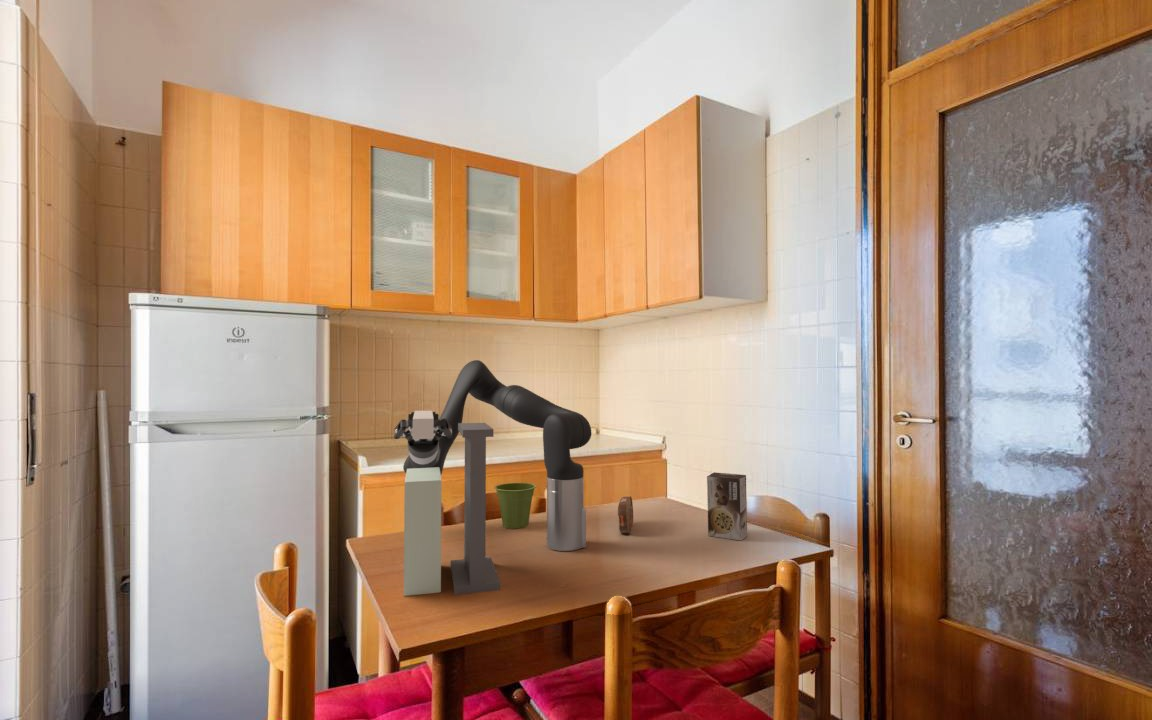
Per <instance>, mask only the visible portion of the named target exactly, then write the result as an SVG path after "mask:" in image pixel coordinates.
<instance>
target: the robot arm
mask: <svg viewBox="0 0 1152 720" xmlns="http://www.w3.org/2000/svg"><path fill="white" fill-rule="evenodd" d="M456 377H457V378H456V380H455V383H454V385H453V387H452V388H451V389H452V390H451V392H450V394H449V395H448V396H449V397H448V399H447V401H446V404H445V406H444V407H443V408H444V409H443V410H442V413H441V414H440V416H439V413H436V411H432V413H433V418H434V426H433V439H413V416H414V413H415V411H411V413H409V414H408V415H407V416H408V417H407V419H400V421H398V423H397V425H396V426H395V427H394V430H393V431H394V434H393V439H395V440H399V439H400V438H402V437H403V438H404V439H406V440H407V452H408V456H407V457H406V459H405V461H404V463H403V465H402V467H403V472H404V473H405V474H406V472H407V469H411V468H434V467H439V468H440V474H441V475H442V474H443V470H444V466H445V463H446V459H447V456H448V453H449V451H450V449H451V447H452V445H453V444H454V442H455V440H456V438H457V437H458V435H459V434H460V432H459V431H458V423H463V417H464V410H465V405H466V400H467V398H468V395H470V396H472V397H473V398H474V399H476V400H478V401H481V402H483V403H486V404H488V405H491V406H492V407H493V408H496V409H497V410H498V411H499V412H501V413H503V414H504V415H505V416H506V417H508V418H510V419H512V420H514V421H516V422H517V423H519V424H522V425H527V426H530V427H535V428H539V429H542V443H543V445H542V446H543V461H544V467H545V470H546V547H547V548H548V549H550V550H553V551H559V552H561V551H562V552H569V551H570V552H571V551H576V550H580V549H582V548H583V549H584V548H586V547H587V509H586V507H584V499H585V498H584V497H585V496H584V475H585V474H584V471H585V470H584V466H583V465H582V464H581V463H578V462H575V461H573V460H572V458H571V450H575V449H579V448H582V447H584V446H586V444H588V443H589V441H590V440H591V438H592V427H591V424H590V422H589V420H588V419H587V418H586V417H585V416H584V415H583V414H581V413H580V412H577V411H573V410H571V409H567V408H564V407H562V406H559V405H557V404H555V403H553V402H551V401H550V400H548V399H546V398H544V397H542V396H540V395H538V394H536V393H535V392H534V391H531V390H529V389H527V388H525V387H523V386H521V385H517V384H511V385H508V386H507V385H505V384H504V383H502V382H501V381H499V380H498V379H497V377H496V376H495V375H494V374H493V372H491V370H490V369H489V367H488V366H487V365H486V364H485V363H484V362H483V361H482V360H479V359H475V360H474V359H473V360H471V361H468V362H467V363H466V364H465V365H464V366H463V367H462V368H461V370H460V372H459V373H458V376H456Z"/></svg>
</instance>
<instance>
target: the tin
mask: <svg viewBox="0 0 1152 720" xmlns="http://www.w3.org/2000/svg"><path fill="white" fill-rule="evenodd" d="M617 516H618V530H619V533H620V534H629V535H630V534H631V532H632V529H633V526H634V507H633V499H632V496H622V497H621V499H620V501H619V502H618V506H617Z"/></svg>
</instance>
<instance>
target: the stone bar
mask: <svg viewBox="0 0 1152 720" xmlns="http://www.w3.org/2000/svg"><path fill="white" fill-rule="evenodd" d="M414 412H415V413H414V416H413V439H433V426H434V418H433V413H432V412H433V410H414Z"/></svg>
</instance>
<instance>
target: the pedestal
mask: <svg viewBox="0 0 1152 720" xmlns="http://www.w3.org/2000/svg"><path fill="white" fill-rule="evenodd" d="M442 480H443V479H442V474H440V468H439V467H434V468H411V469H407V472H406V473H405V478H404V499H403V500H404V505H403V506H404V511H403V512H404V517H403V519H404V520H403V525H404V527H403V528H404V529H403V596H404V597H408V596H409V597H410V596H418V595H426V594H427V595H428V594H436V593H441V592H442V591H441V590H442V485H443V484H442V483H443V482H442Z"/></svg>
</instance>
